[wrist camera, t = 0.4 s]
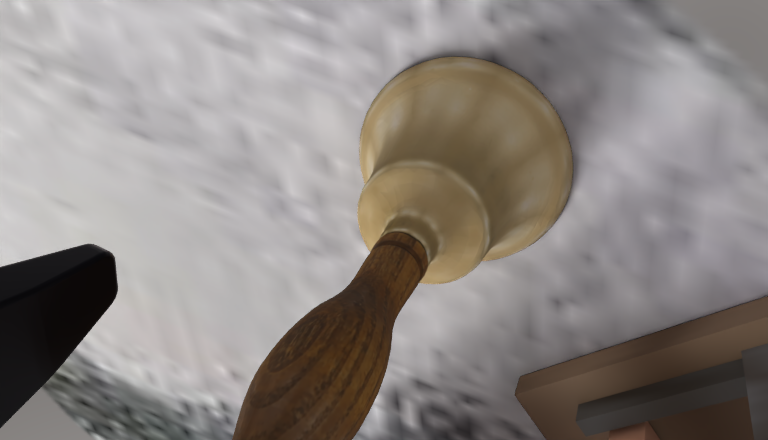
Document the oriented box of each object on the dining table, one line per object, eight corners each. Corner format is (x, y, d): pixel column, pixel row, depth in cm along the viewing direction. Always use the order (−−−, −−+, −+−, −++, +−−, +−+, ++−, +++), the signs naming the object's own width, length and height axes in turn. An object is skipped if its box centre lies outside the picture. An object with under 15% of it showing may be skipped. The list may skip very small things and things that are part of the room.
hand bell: (624, 165, 23) (563, 566, 10) (473, 293, 28) (295, 679, 15) (447, 5, 23) (141, 197, 10) (325, 162, 27) (8, 434, 14)
